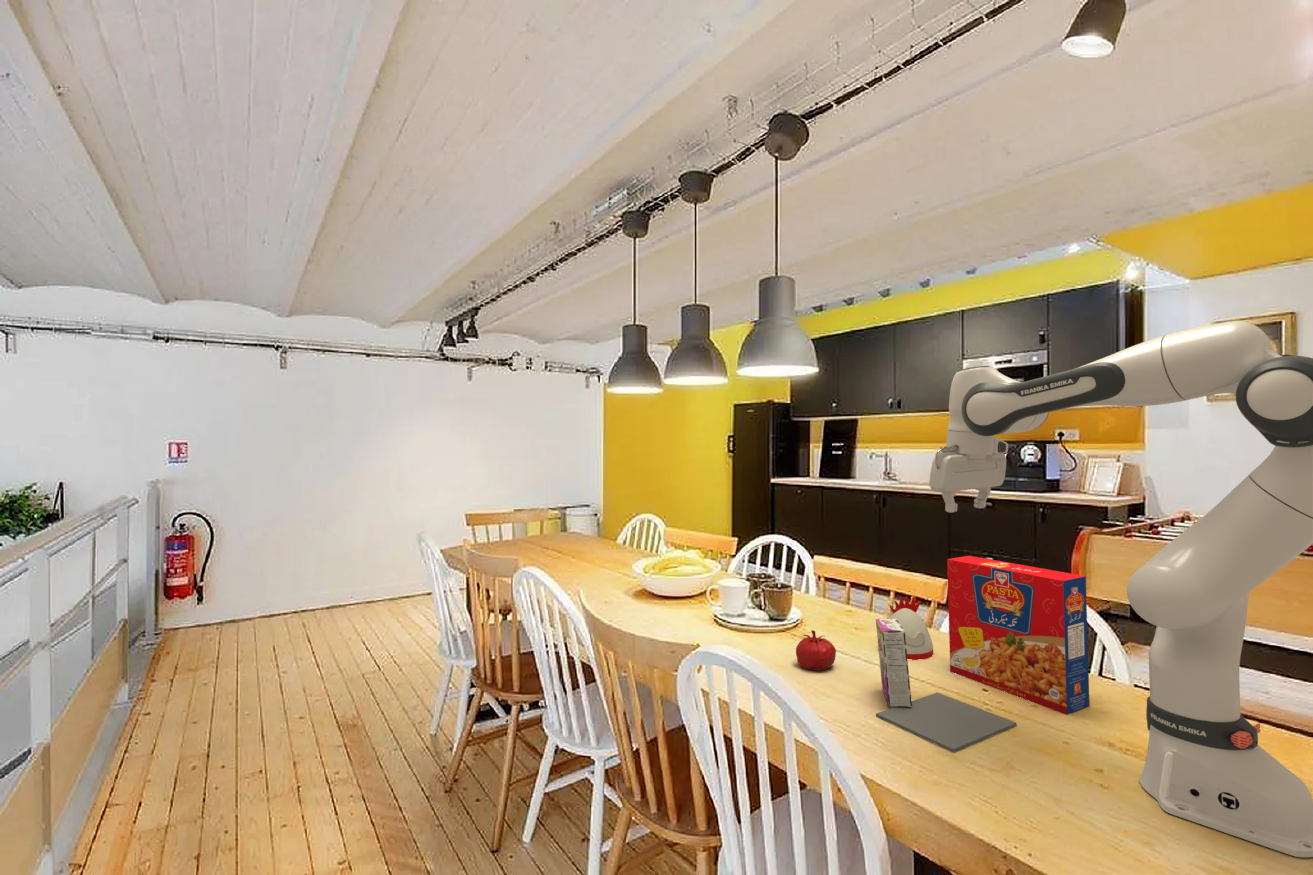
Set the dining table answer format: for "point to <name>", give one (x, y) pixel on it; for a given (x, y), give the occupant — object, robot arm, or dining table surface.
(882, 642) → the candy bar box
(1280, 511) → the robot arm
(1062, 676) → the pasta box
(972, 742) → the rubber mat
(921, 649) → the kitchen timer
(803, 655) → the pomegranate
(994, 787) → the dining table surface
